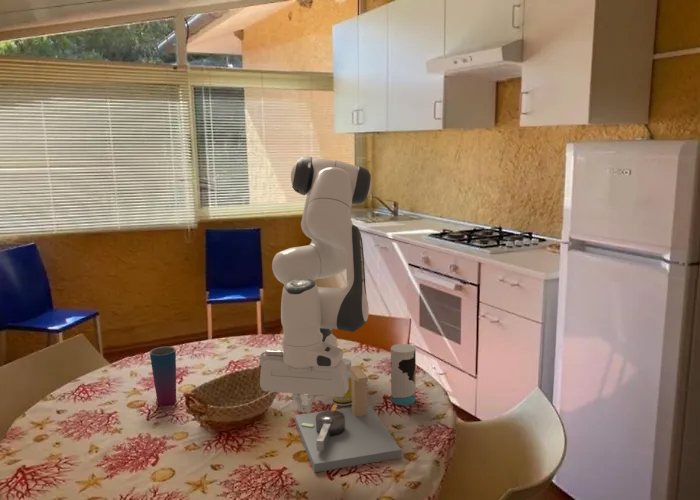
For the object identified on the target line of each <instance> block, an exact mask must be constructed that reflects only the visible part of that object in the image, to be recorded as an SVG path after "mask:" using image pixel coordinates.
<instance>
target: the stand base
mask: <svg viewBox="0 0 700 500" xmlns="http://www.w3.org/2000/svg"><path fill="white" fill-rule="evenodd" d="M350 372H351V374H352V375H351V388H352V404H351V406H350V407H344V408H337V409H336V411H339V412H341V413H343V414H344V416H345V431H344V432H343V433H342V434H340V435H337V436H330V437H329V439H328V442H327V444H326V447H325V449H324V451H317V445H316V440H317V438H318V436H319V434H318V433H317V432H316V415H317V414H319V413H320V412H323V411H324V410H322V411H317V412H316V411H315V412H306V413H301V414H295V415H294V423H295V426H296V429H297V431H298V434H299V436H300V440H301V442H302V444H303V446H304V449H305V451H306V455H307V458H308V459H309V462H310V465H311V466H312V470H313V473H318V472H319V473H320V472H325V471H331V470H337V469H344V468H349V467H354V466H361V465H367V464H372V463H377V462H378V463H379V462H384V461H391V460H395V459H396V460H397V459H400V458H402V448H401V447H400V446H399V444H398V443H397V441H396V440H395V438H394V437H393V436H392V434H391V433H390V431H389V430H388V429H387V427H386V425H384V423H383V421H382V420H381V419H380V417H379V415H377V413H376V412H375V410H374V409H373V407H372V406H371V405H370V404H367V383H368V381H369V380H368V378H369V377H368V376H367V374H366V373H365V372H364V370H362V368H361V366H360V365H353V366H352V365H351V367H350ZM329 410H330V409H327V411H329Z"/></svg>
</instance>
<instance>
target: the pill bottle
mask: <svg viewBox="0 0 700 500" xmlns="http://www.w3.org/2000/svg"><path fill="white" fill-rule="evenodd" d="M341 360H342V361H343V362H344V363H345V364H346V367H347V372H348V379H349V389H348V391H347V393H346V394H345V395H344V396H343V397H333V396H331V401H332V403H333V405H337V406H338V407H339V406H340V407H347V406H350V405H351V406H352V388H351V375H352V374H351V372H350V367H352V361H351V359H348V358H343V359H341Z"/></svg>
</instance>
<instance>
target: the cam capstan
mask: <svg viewBox="0 0 700 500" xmlns="http://www.w3.org/2000/svg"><path fill="white" fill-rule="evenodd" d="M338 407H339V405H336V404H333V405H332V408H331V409H328V410H329V411H328V410H322V411H323V412H321V411H319V412H320V413H319V414H317V415H316V432H317V433H318V434H319V436H318V438H317V440H316V445H317V451H324V449H325V447H326V444H327V442H328V439H329V437H330V436H337V435H340V434H342V433H343V432H344V431H345V416H344V414H343V413H341V412H339V411H336V409H338Z"/></svg>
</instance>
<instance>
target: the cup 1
mask: <svg viewBox="0 0 700 500" xmlns="http://www.w3.org/2000/svg"><path fill="white" fill-rule="evenodd" d="M149 357H150V363H151V369H152V374H153V376H152V377H153V382H154V383H153V384H154V389H155V390H154V391H155V395H156V402H157V405H158V406H162V407H163V406H165V407H167V406H171V405H174V404H175V403H176V402H177V364H176V363H177V360H176V359H177V358H176V357H177V355H176V347H173V346H160V347H156V348H153V349H151V350H150V351H149Z"/></svg>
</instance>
